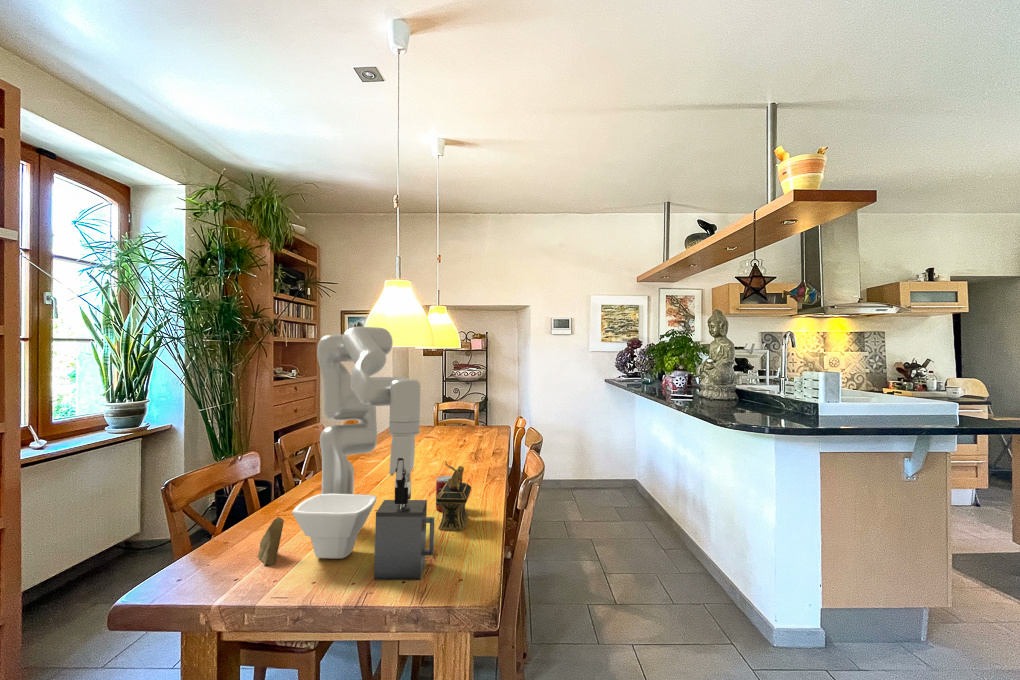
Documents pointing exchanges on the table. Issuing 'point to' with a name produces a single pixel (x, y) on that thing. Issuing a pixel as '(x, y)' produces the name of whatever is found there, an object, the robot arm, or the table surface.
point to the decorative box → (454, 501)
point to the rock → (271, 542)
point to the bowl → (333, 521)
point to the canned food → (439, 485)
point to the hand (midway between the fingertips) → (402, 500)
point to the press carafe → (402, 540)
